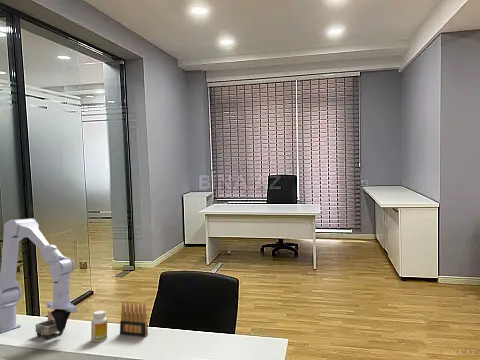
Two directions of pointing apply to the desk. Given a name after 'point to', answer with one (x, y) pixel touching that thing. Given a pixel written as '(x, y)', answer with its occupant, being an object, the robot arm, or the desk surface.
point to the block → (50, 315)
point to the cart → (47, 328)
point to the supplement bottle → (99, 327)
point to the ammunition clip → (133, 321)
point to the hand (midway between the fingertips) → (61, 329)
